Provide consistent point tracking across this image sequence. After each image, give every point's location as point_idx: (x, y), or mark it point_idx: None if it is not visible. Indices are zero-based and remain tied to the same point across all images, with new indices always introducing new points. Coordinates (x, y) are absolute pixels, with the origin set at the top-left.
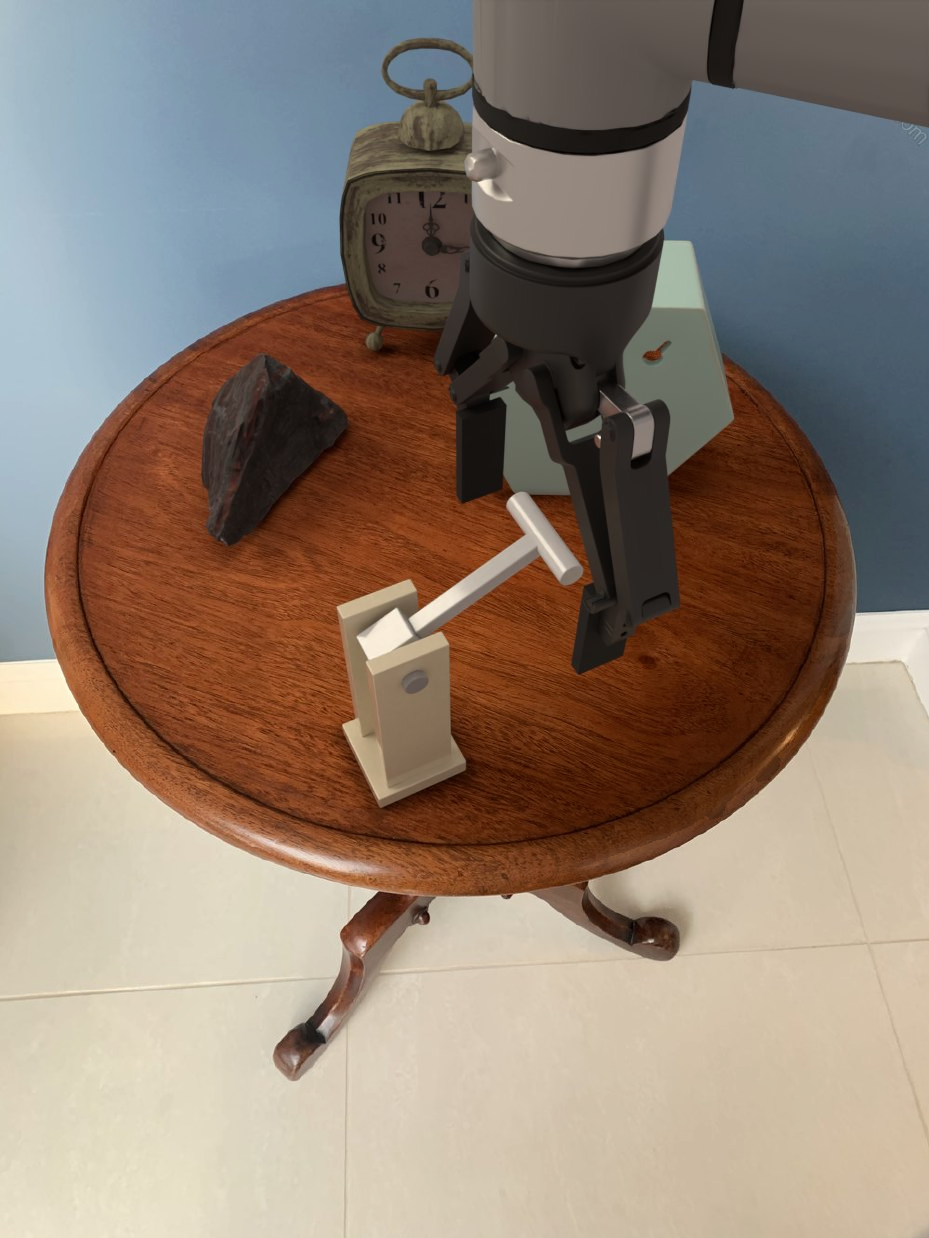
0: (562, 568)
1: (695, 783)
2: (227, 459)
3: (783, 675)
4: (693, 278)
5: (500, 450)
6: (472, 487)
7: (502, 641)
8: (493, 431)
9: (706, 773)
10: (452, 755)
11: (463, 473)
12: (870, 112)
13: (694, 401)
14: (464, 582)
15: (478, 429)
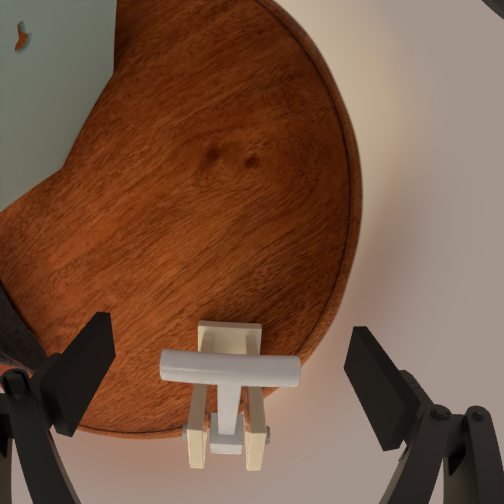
0: (291, 386)
1: (351, 199)
2: (4, 363)
3: (316, 84)
4: None
5: (86, 350)
6: (107, 356)
7: (179, 250)
8: (74, 379)
9: (350, 187)
10: (253, 334)
11: (101, 381)
12: None
13: (82, 13)
14: (222, 416)
15: (74, 404)
